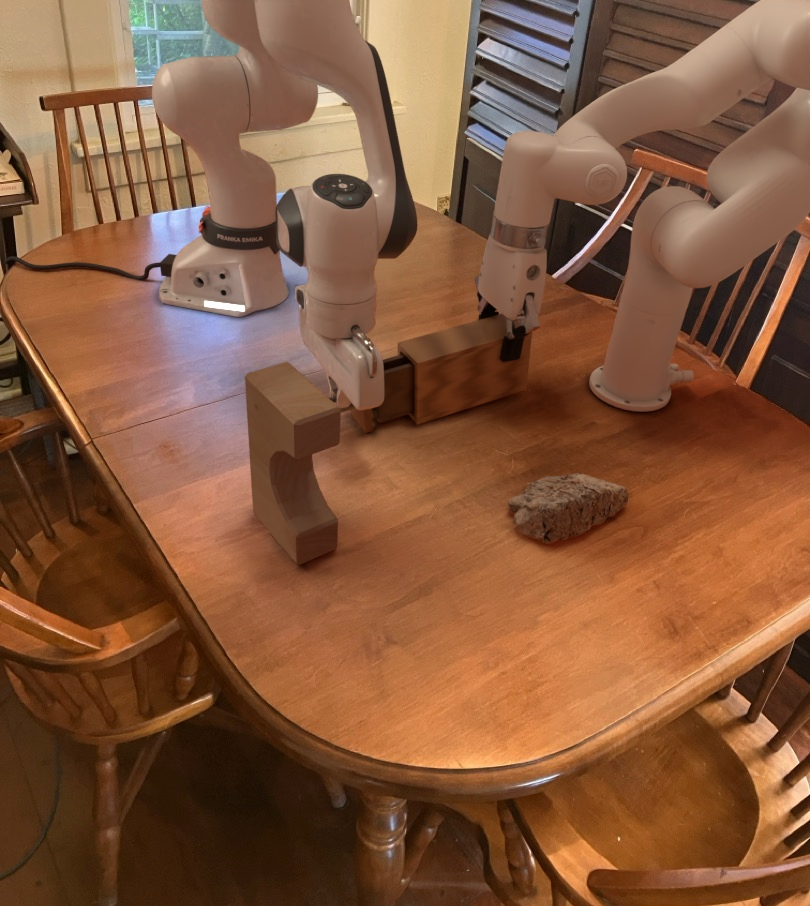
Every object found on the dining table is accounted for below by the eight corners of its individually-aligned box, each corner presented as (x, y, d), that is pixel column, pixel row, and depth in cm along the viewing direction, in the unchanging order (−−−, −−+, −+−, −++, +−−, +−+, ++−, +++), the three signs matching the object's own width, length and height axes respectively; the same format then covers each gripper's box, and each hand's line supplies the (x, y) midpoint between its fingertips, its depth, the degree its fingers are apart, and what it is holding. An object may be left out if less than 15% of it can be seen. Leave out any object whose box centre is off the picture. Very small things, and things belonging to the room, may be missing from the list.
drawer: (327, 445, 110) (323, 393, 105) (314, 426, 114) (309, 375, 108) (473, 399, 118) (475, 349, 113) (456, 382, 122) (458, 333, 116)
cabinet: (417, 424, 115) (417, 363, 108) (398, 403, 119) (397, 342, 113) (526, 389, 122) (532, 329, 115) (504, 370, 126) (509, 311, 119)
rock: (550, 558, 95) (559, 522, 91) (489, 511, 101) (495, 475, 97) (629, 508, 103) (640, 473, 99) (568, 467, 109) (577, 433, 105)
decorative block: (339, 550, 93) (343, 407, 81) (296, 568, 91) (293, 424, 78) (292, 497, 100) (289, 358, 88) (251, 512, 98) (242, 371, 85)
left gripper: (400, 343, 96) (394, 438, 104) (333, 276, 110) (332, 364, 118) (351, 352, 93) (349, 449, 101) (289, 282, 107) (292, 371, 116)
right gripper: (580, 254, 103) (551, 373, 114) (508, 205, 115) (488, 318, 126) (531, 260, 100) (506, 382, 111) (463, 209, 112) (446, 324, 122)
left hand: (340, 402), depth 110 cm, fingers closed, pressing on drawer
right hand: (497, 347), depth 118 cm, fingers closed on cabinet, 6 cm apart
